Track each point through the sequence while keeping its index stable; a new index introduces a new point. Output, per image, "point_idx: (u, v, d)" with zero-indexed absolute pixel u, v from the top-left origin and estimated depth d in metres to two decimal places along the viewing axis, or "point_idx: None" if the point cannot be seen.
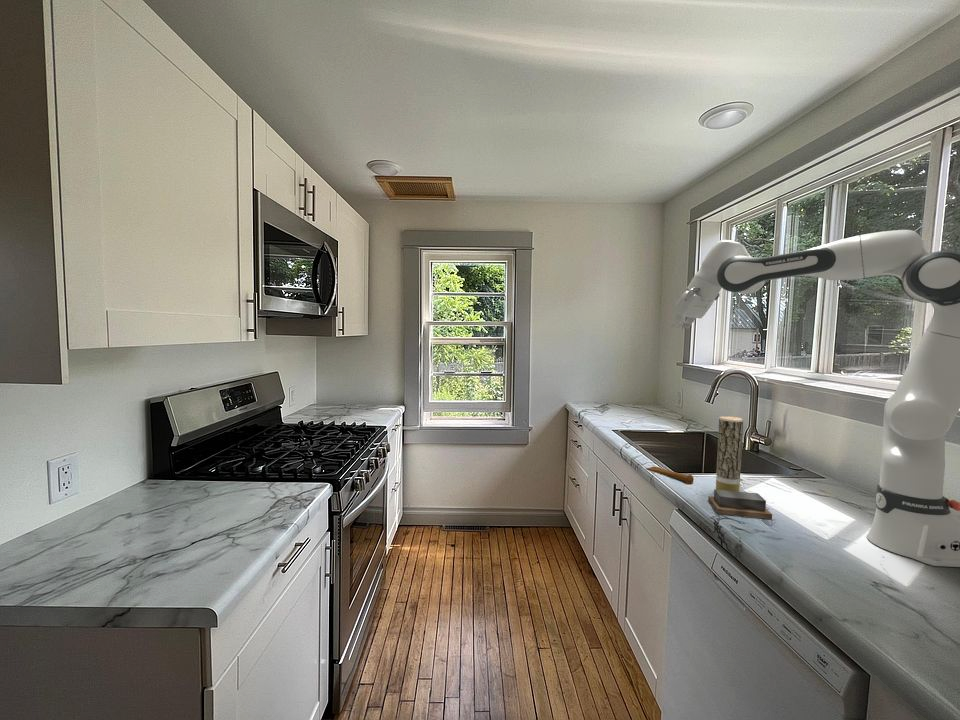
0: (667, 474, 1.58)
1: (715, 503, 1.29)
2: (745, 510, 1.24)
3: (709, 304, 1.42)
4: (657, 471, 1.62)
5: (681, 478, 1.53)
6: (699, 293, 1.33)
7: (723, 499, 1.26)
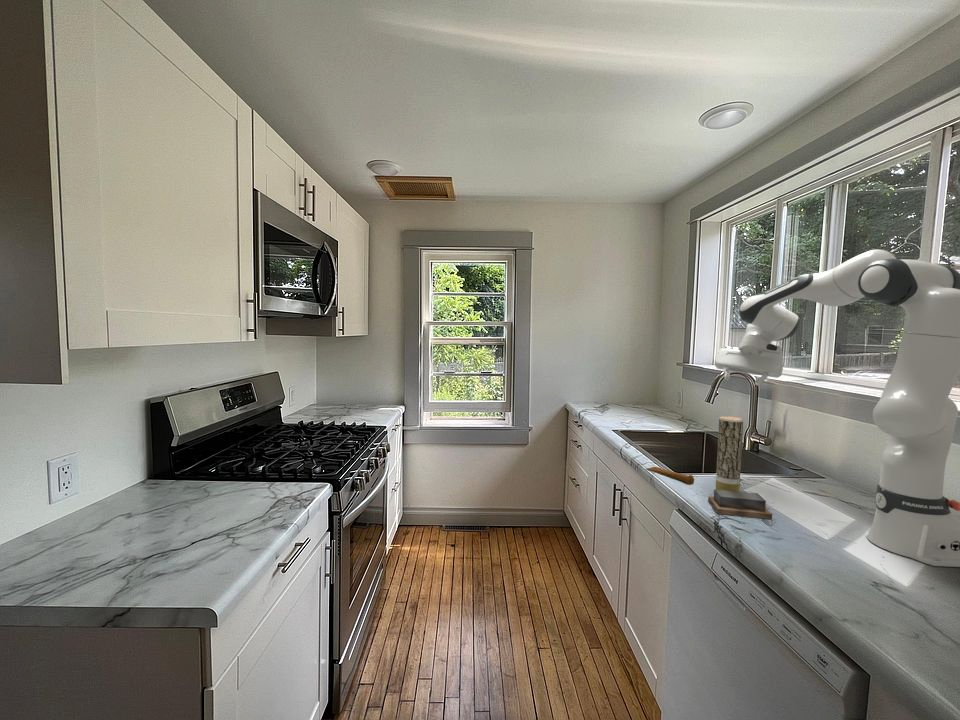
0: (667, 474, 1.57)
1: (715, 503, 1.29)
2: (745, 510, 1.24)
3: (775, 357, 1.44)
4: (657, 471, 1.61)
5: (681, 478, 1.52)
6: (738, 349, 1.54)
7: (723, 499, 1.26)
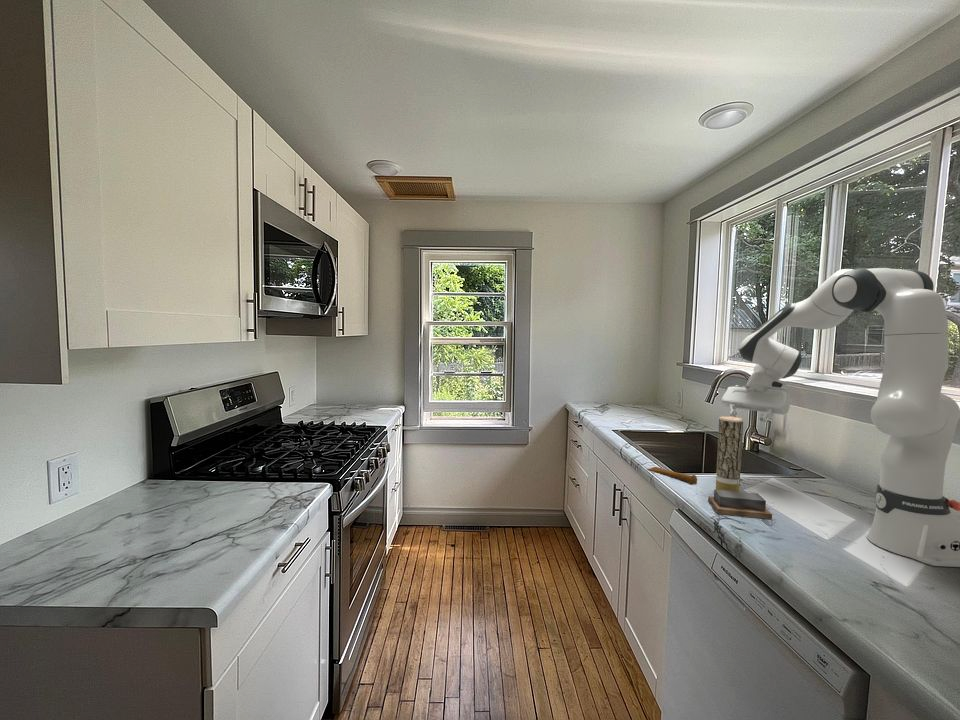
0: (670, 474, 1.57)
1: (715, 503, 1.29)
2: (745, 510, 1.24)
3: (780, 394, 1.44)
4: (659, 472, 1.61)
5: (685, 478, 1.52)
6: None
7: (723, 499, 1.26)
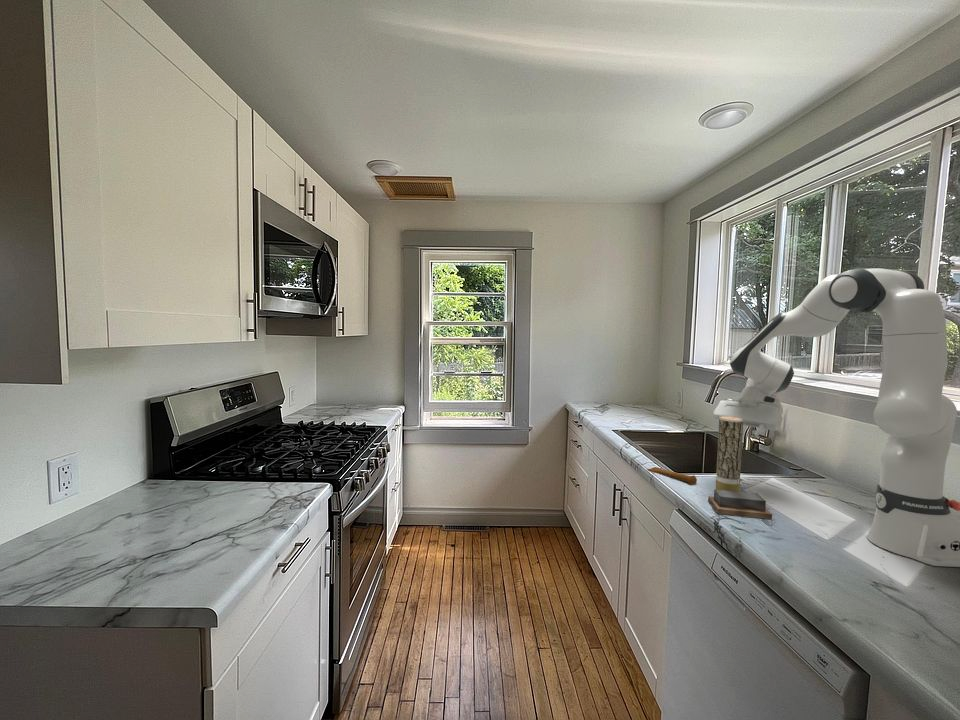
0: (669, 475, 1.57)
1: (715, 503, 1.29)
2: (745, 510, 1.24)
3: (772, 410, 1.41)
4: (659, 472, 1.61)
5: (684, 479, 1.52)
6: None
7: (723, 499, 1.26)
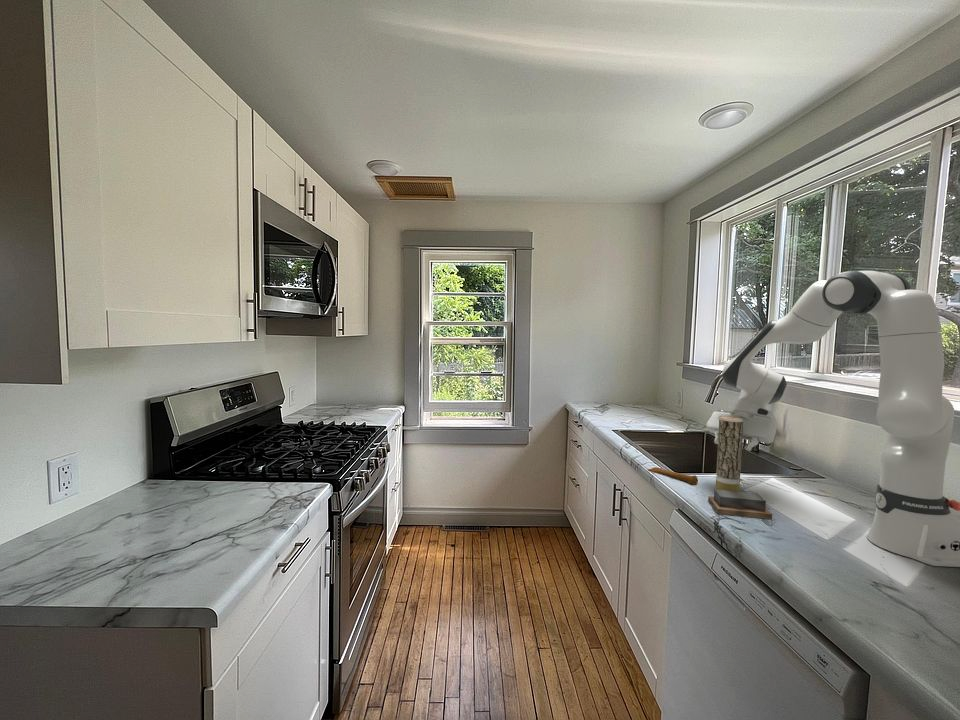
0: (670, 475, 1.57)
1: (715, 503, 1.29)
2: (745, 510, 1.24)
3: (766, 422, 1.38)
4: (659, 472, 1.60)
5: (685, 479, 1.52)
6: None
7: (723, 499, 1.26)
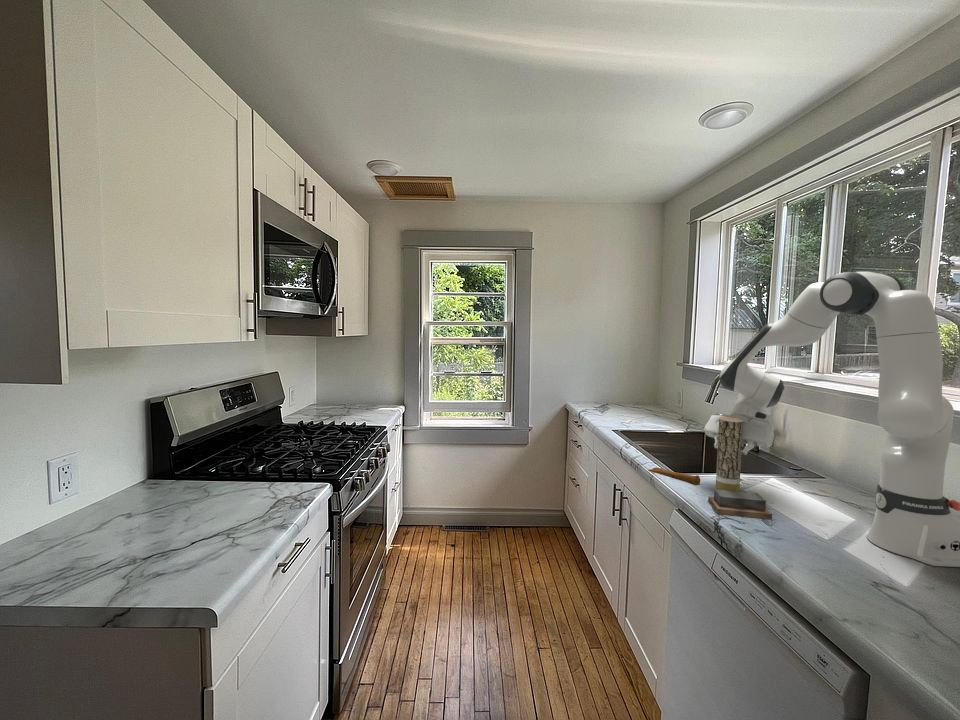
0: (672, 475, 1.57)
1: (715, 503, 1.29)
2: (745, 510, 1.24)
3: (764, 426, 1.38)
4: (661, 472, 1.60)
5: (688, 479, 1.52)
6: None
7: (723, 499, 1.26)
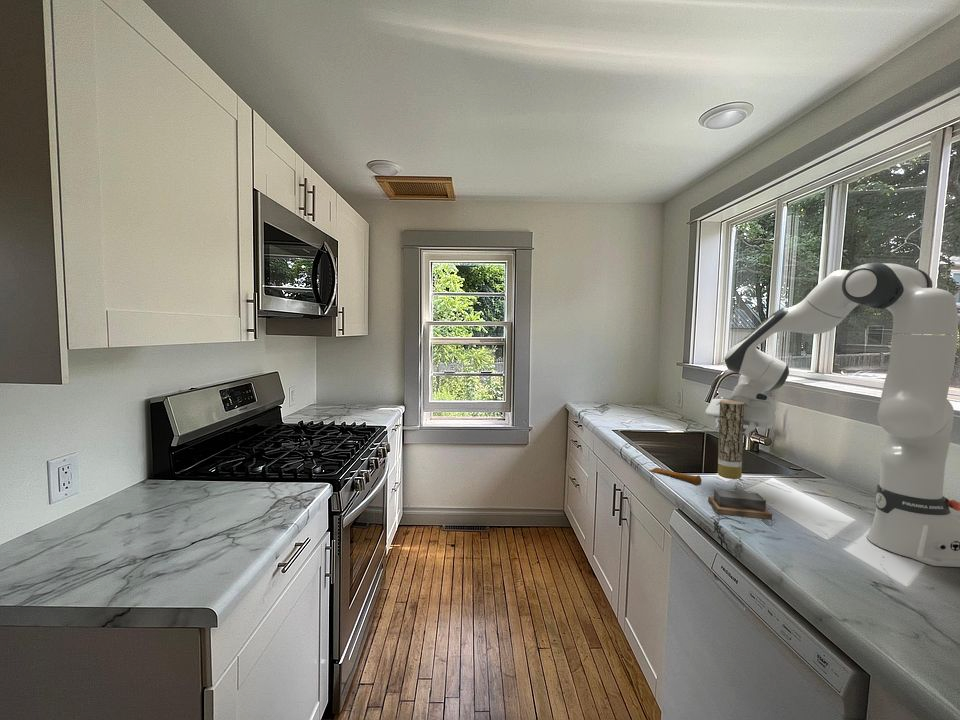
0: (673, 476, 1.56)
1: (715, 503, 1.29)
2: (745, 510, 1.24)
3: (765, 407, 1.37)
4: (662, 473, 1.60)
5: (689, 479, 1.51)
6: None
7: (723, 499, 1.26)
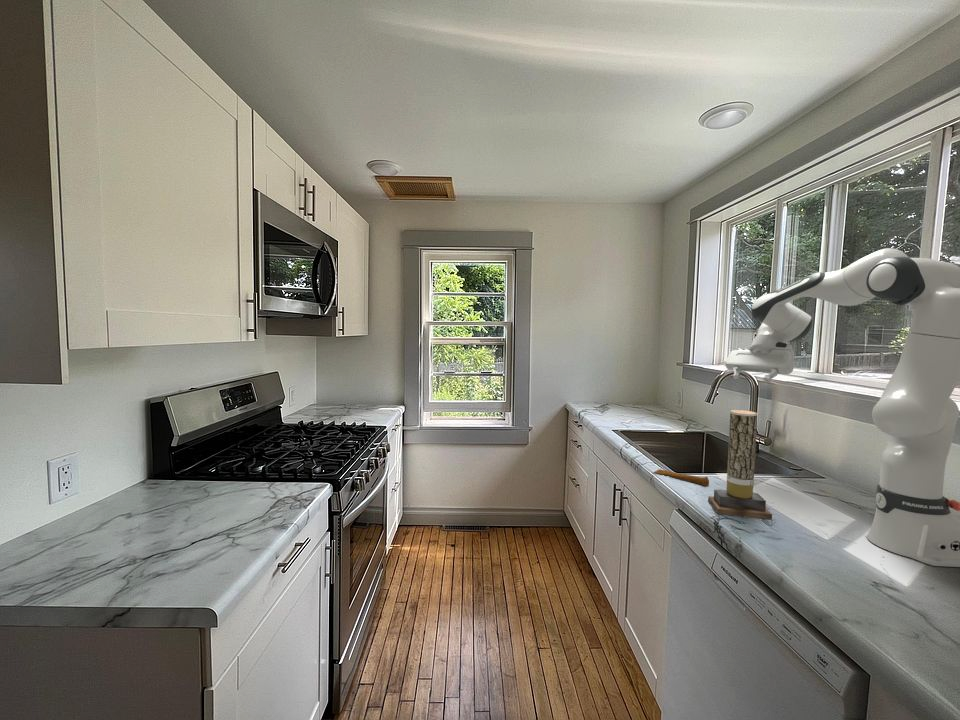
0: (679, 477, 1.54)
1: (715, 503, 1.29)
2: (745, 510, 1.24)
3: (784, 354, 1.42)
4: (667, 475, 1.58)
5: (697, 481, 1.50)
6: (749, 350, 1.53)
7: (723, 499, 1.26)
